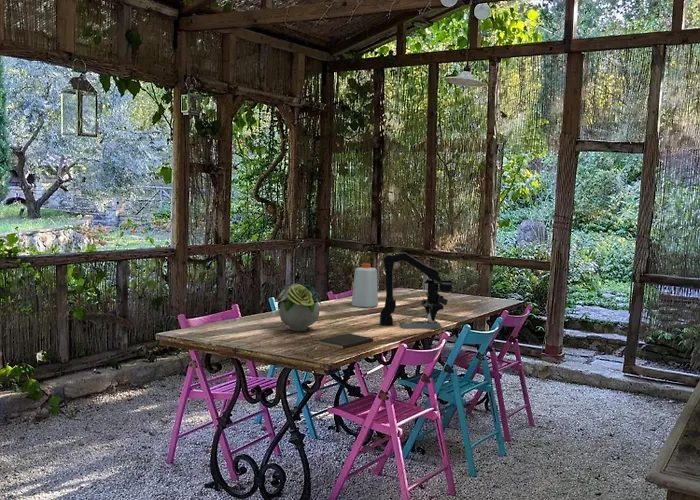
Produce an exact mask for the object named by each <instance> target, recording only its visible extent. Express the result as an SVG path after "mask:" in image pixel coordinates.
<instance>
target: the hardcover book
mask: <svg viewBox="0 0 700 500" xmlns="http://www.w3.org/2000/svg"><path fill="white" fill-rule="evenodd" d="M317 341H318V344H319V345H322V344H323V345H324V346H327V347H328V346H329V347H332V348H336V349H337V348H338V349H341V350H344V349H349V347H350V348H353V347H357V346H361V345H365V344H370V343H373V342H374V338H373V337H370V336H365V335H364V336H363V335H360V334H359V335H358V334H353V333H349V332H348V333H344V334H339V335H334V336H329V337H325V338H320V339H317ZM323 345H322V346H323Z"/></svg>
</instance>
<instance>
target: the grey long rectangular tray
mask: <svg viewBox="0 0 700 500" xmlns="http://www.w3.org/2000/svg"><path fill="white" fill-rule="evenodd" d="M398 326H399V327H400V328H401V329H403V330H406V329H408V330H409V329H410V330H411V329H417V330H418V329H441V322H438V321H436V323H428V320H412V324H404V320H403V321H401V320H400V321H399V322H398Z"/></svg>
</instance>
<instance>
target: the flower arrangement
mask: <svg viewBox="0 0 700 500" xmlns="http://www.w3.org/2000/svg"><path fill="white" fill-rule="evenodd" d="M319 299H320V295H319V292H318V291H316V289H315V287H314V286H311V285H309V284H308V285H305V284H303V283H299V282H297V283H293V284H292V283H291V284H290V285H289V286H287V285H284V287H283V290H281V292H280V293H279V295H278V297H277V298H276V299H275V300H274V303H277V312H278V315H279V317H280V321H281V322H283V324H284V325H286V326H288V327H289V328H290V330H291V331H296V332H303V331H307V330H308V328H309V327H310V326H312V325H313V324H315V323H316V322H317V321H318V319H319V316H320V306H319V304H320V305H322V303H321V300H319Z"/></svg>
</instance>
